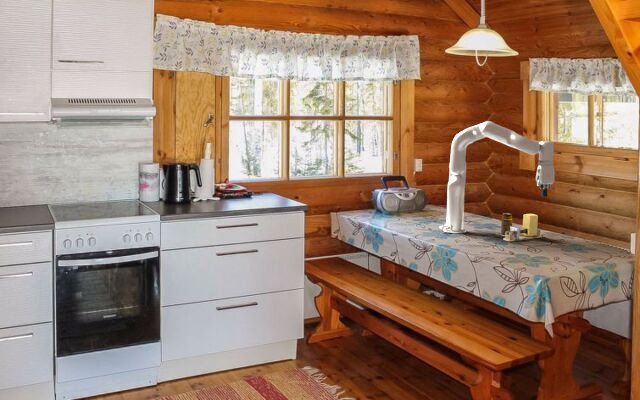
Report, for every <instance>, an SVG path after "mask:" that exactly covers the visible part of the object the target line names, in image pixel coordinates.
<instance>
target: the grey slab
mask: <svg viewBox="0 0 640 400" xmlns="http://www.w3.org/2000/svg"><path fill="white" fill-rule="evenodd" d="M520 230H521V227H517V226H514V225H512V226H510V231H514V232H515V234H513V238H514V239H520V236H521V235H520V234H521V233H520Z"/></svg>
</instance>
